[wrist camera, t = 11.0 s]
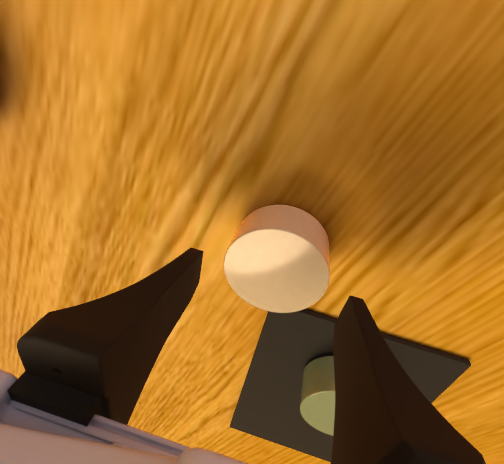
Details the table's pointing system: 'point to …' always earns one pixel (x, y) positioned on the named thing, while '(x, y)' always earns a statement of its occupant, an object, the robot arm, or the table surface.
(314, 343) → the mat
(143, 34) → the table surface
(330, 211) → the table surface
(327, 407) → the sage green puck
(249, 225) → the cream cylinder
